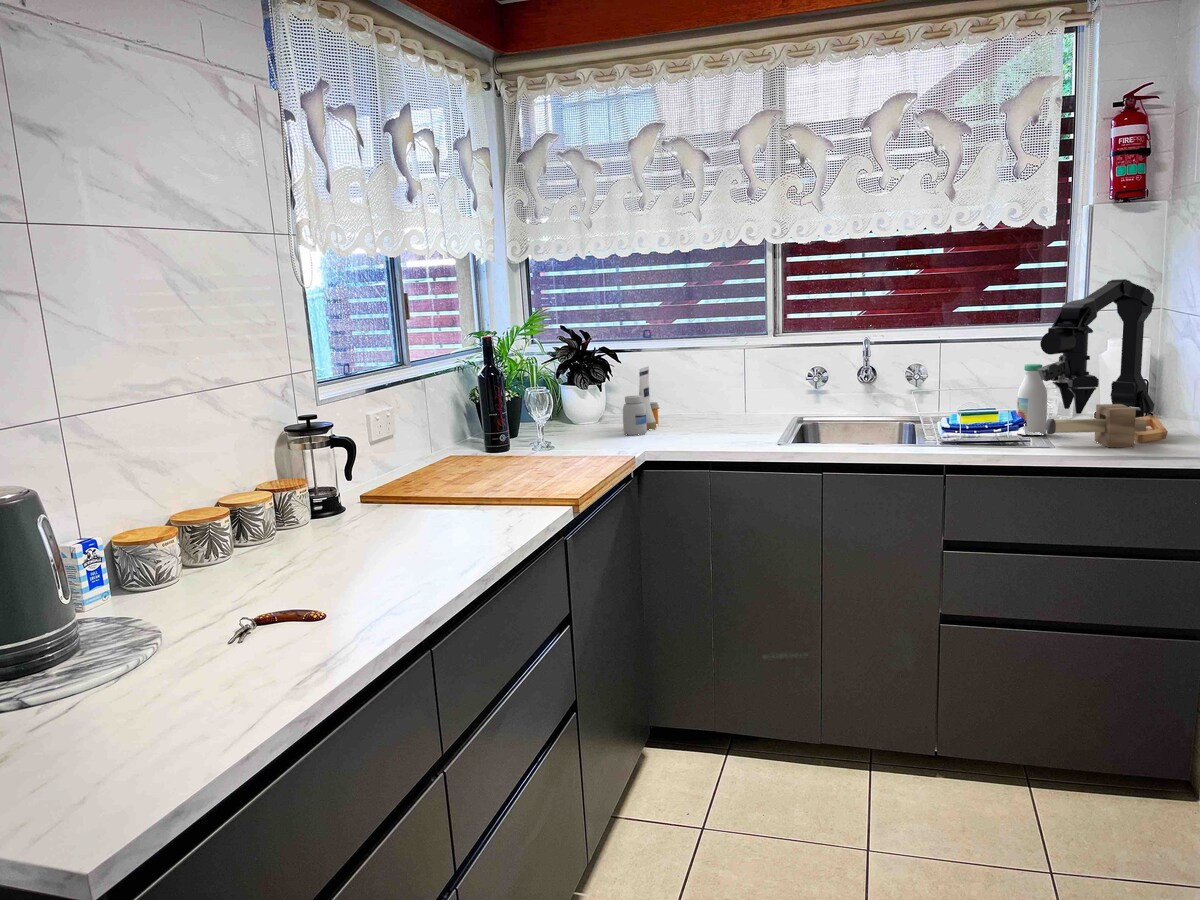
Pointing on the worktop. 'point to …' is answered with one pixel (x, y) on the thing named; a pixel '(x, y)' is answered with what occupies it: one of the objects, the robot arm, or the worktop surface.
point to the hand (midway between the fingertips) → (1072, 411)
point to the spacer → (1154, 434)
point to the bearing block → (1116, 425)
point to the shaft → (1085, 425)
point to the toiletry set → (640, 408)
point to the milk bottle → (1033, 400)
